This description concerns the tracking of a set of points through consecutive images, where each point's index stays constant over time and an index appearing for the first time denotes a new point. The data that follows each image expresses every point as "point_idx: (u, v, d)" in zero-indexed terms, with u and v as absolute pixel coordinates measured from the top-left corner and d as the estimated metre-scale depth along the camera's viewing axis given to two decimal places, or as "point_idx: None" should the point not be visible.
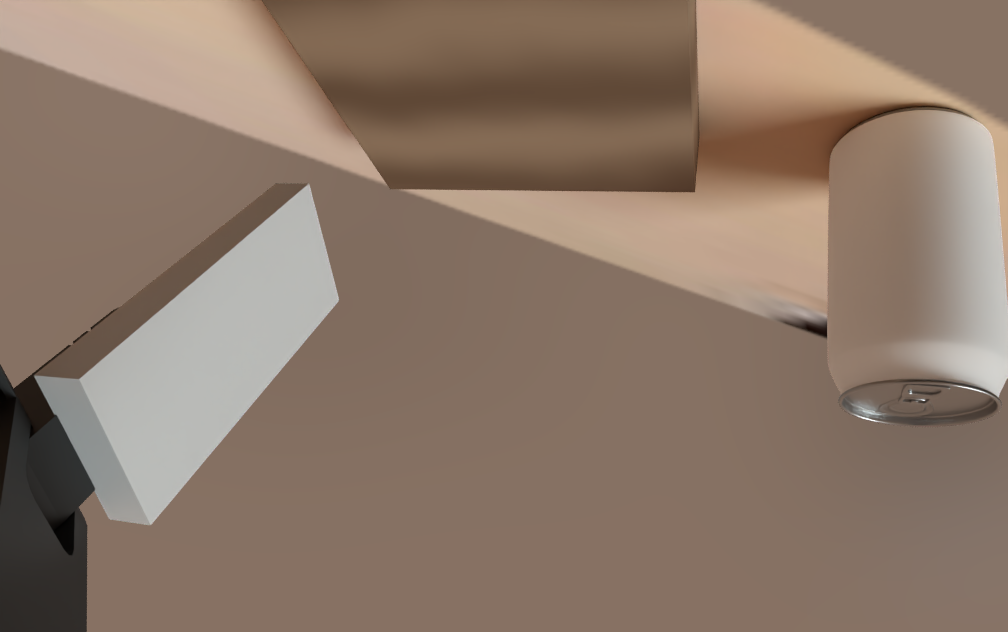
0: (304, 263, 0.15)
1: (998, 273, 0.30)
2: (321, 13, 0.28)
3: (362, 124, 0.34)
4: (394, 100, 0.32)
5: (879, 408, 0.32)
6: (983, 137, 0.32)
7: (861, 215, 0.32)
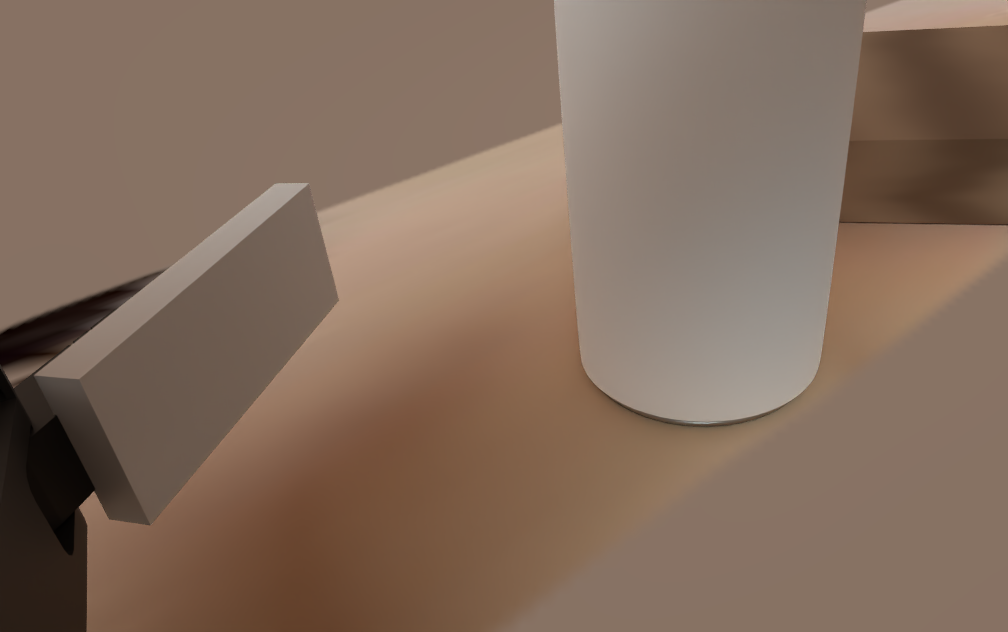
0: (304, 263, 0.15)
1: (797, 147, 0.15)
2: None
3: (865, 36, 0.37)
4: (910, 46, 0.35)
5: None
6: (784, 384, 0.19)
7: None
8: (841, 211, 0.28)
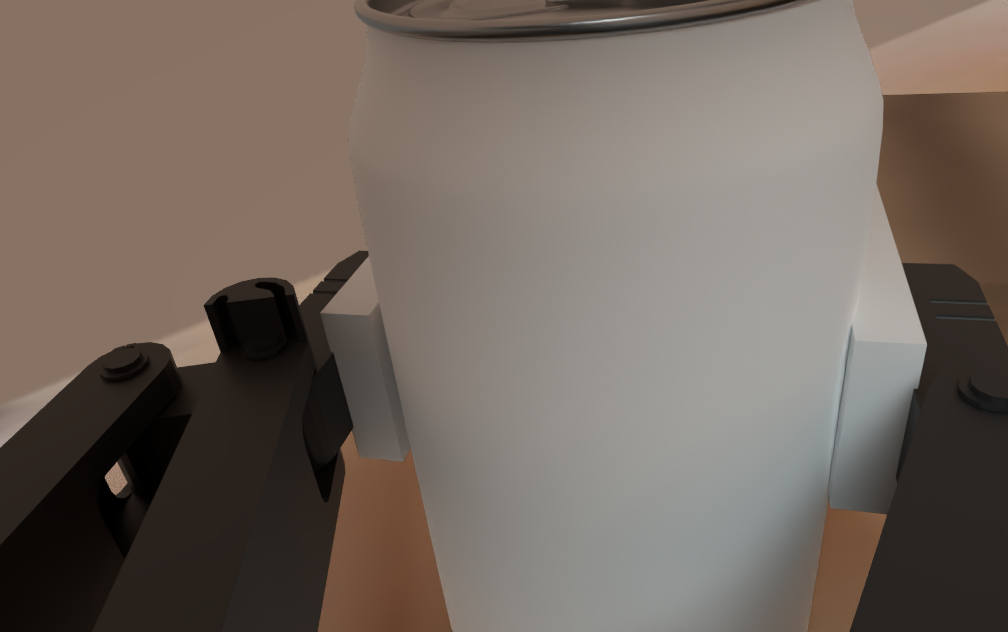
0: None
1: (753, 457, 0.09)
2: None
3: None
4: (918, 119, 0.28)
5: None
6: None
7: None
8: None
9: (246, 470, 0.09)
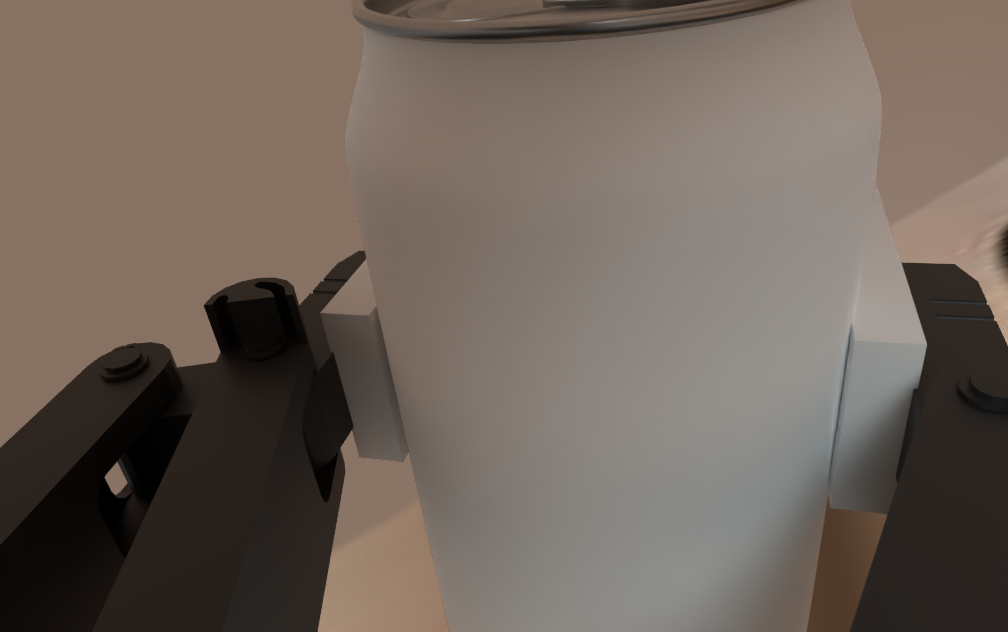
0: None
1: (750, 459, 0.09)
2: None
3: None
4: None
5: None
6: None
7: None
8: None
9: (246, 470, 0.09)
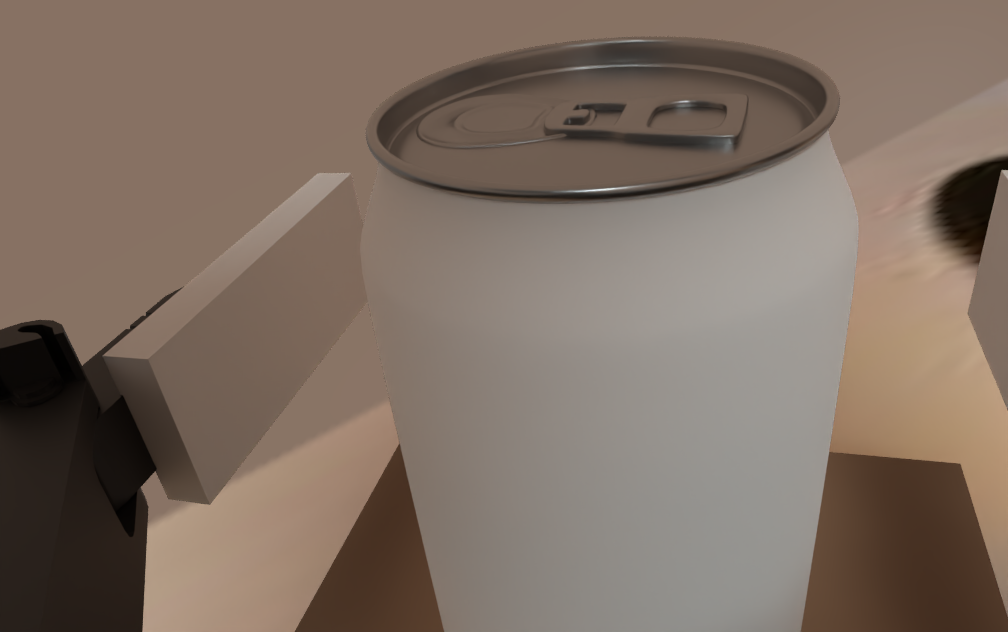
0: (347, 251, 0.16)
1: (733, 553, 0.10)
2: (833, 507, 0.19)
3: None
4: None
5: (500, 94, 0.11)
6: None
7: None
8: None
9: (37, 509, 0.08)
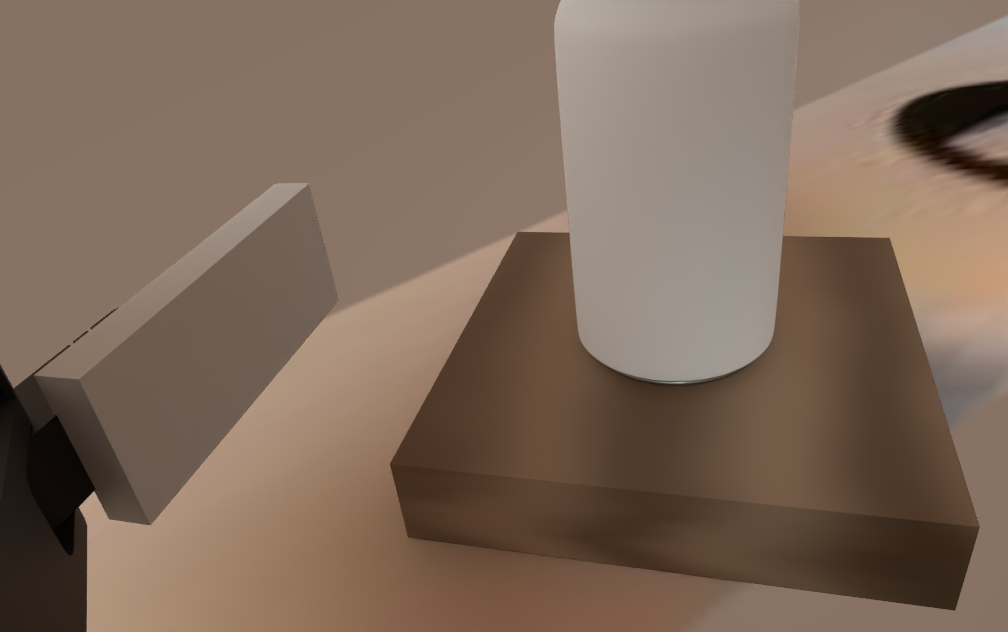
0: (304, 263, 0.15)
1: (741, 163, 0.20)
2: (806, 260, 0.30)
3: None
4: None
5: None
6: (740, 351, 0.23)
7: None
8: (514, 541, 0.23)
9: None
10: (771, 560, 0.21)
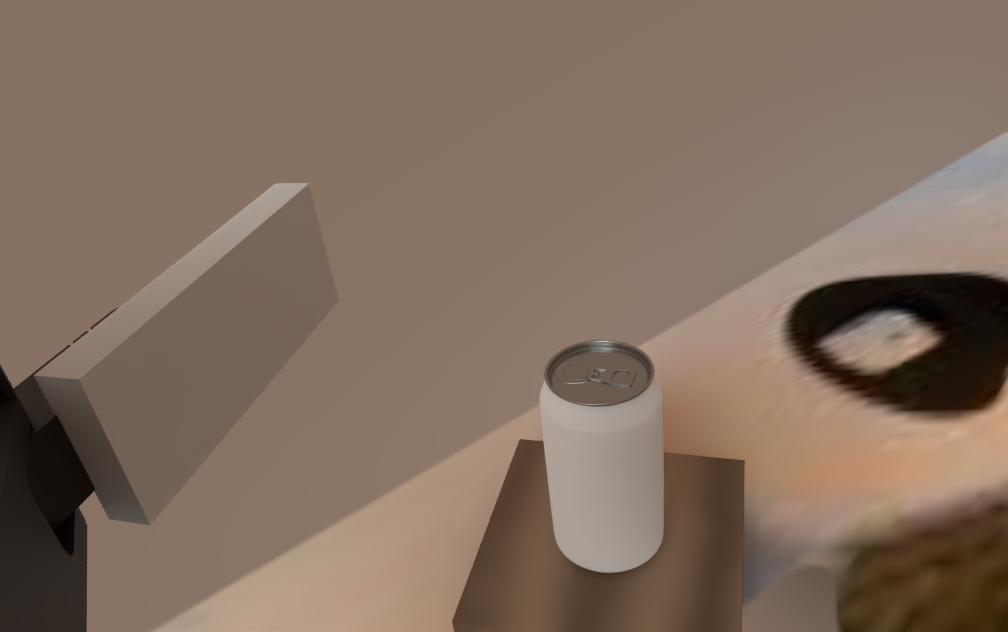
0: (304, 263, 0.15)
1: (632, 480, 0.40)
2: (692, 477, 0.49)
3: None
4: None
5: (574, 360, 0.41)
6: (640, 557, 0.43)
7: None
8: None
9: None
10: None
